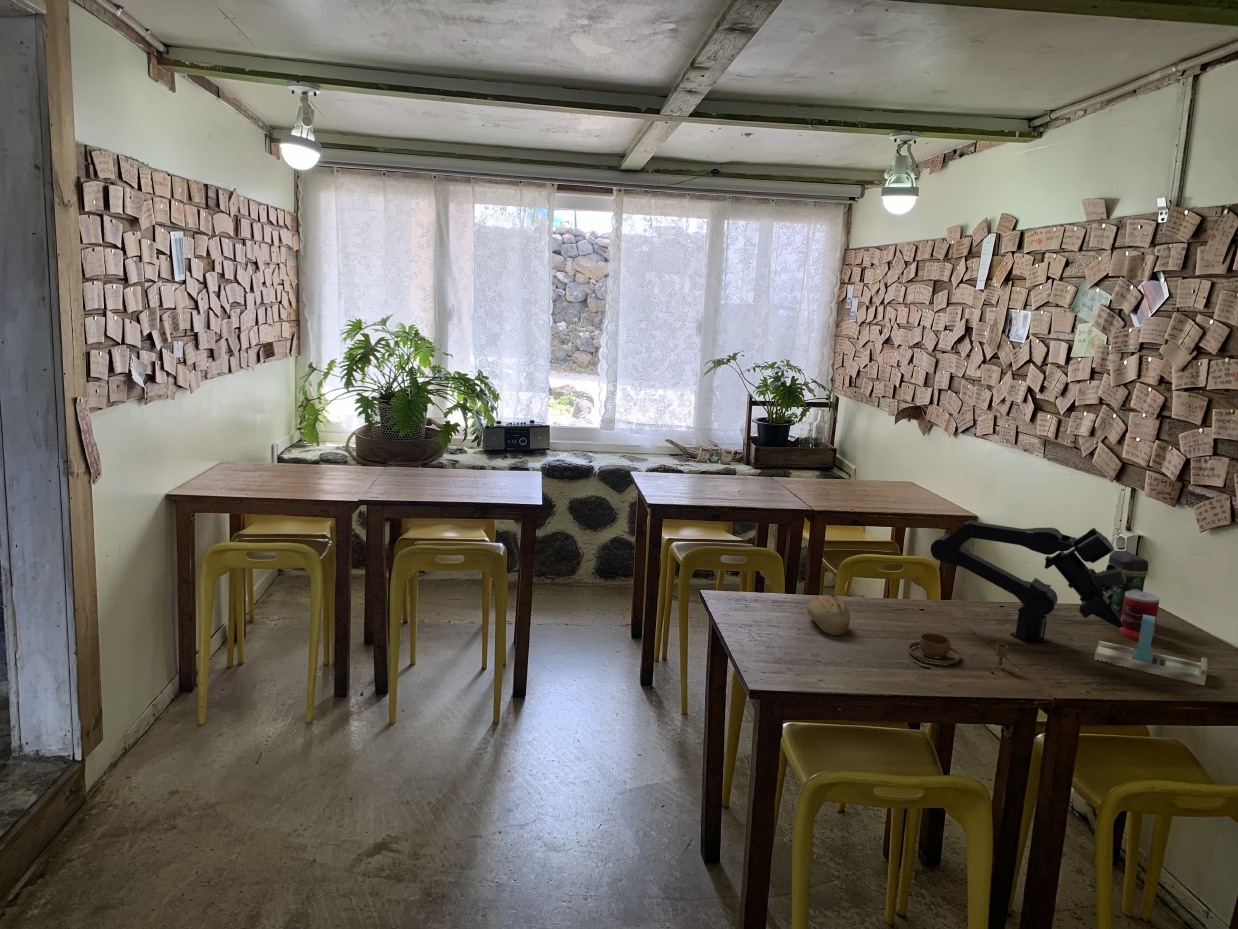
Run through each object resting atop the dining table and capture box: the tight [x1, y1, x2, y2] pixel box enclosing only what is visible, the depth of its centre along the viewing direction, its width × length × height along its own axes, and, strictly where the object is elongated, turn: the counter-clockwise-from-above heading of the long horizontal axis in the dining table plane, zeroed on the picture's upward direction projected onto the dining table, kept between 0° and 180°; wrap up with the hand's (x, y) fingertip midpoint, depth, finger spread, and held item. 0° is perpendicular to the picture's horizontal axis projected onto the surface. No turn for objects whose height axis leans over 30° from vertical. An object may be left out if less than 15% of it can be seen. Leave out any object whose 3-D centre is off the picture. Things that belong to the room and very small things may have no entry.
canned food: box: [1119, 591, 1160, 641], centre depth 220 cm, size 8×8×11 cm
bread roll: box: [806, 594, 851, 636], centre depth 218 cm, size 10×15×8 cm, turn 11°
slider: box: [1132, 614, 1155, 663], centre depth 201 cm, size 4×6×10 cm, turn 146°
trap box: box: [1093, 640, 1208, 686], centre depth 201 cm, size 22×9×4 cm, turn 56°
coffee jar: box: [1104, 550, 1149, 619], centre depth 231 cm, size 10×8×19 cm
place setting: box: [907, 632, 1009, 667], centre depth 199 cm, size 18×20×6 cm
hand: (1121, 626), depth 203 cm, fingers closed
